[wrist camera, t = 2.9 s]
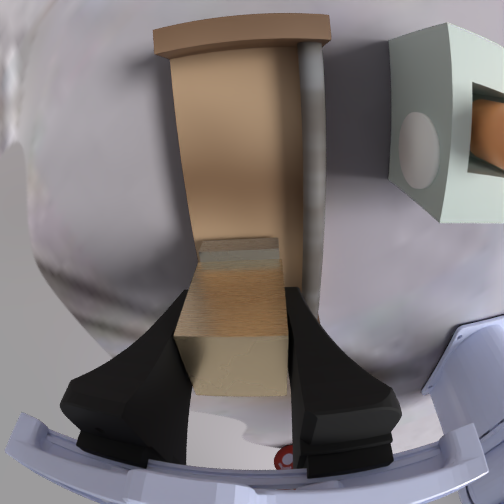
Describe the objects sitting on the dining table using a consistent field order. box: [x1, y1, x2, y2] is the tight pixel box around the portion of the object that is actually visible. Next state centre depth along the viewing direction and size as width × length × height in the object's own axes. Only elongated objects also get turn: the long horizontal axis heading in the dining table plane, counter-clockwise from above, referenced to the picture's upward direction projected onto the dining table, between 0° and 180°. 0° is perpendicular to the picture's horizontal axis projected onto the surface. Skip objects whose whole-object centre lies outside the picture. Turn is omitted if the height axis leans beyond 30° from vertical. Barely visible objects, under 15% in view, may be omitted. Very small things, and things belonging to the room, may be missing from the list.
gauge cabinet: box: [388, 23, 504, 223], centre depth 9 cm, size 7×5×5 cm
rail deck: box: [153, 13, 331, 323], centre depth 12 cm, size 15×6×3 cm, turn 4°
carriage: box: [174, 238, 288, 397], centre depth 12 cm, size 5×4×5 cm
